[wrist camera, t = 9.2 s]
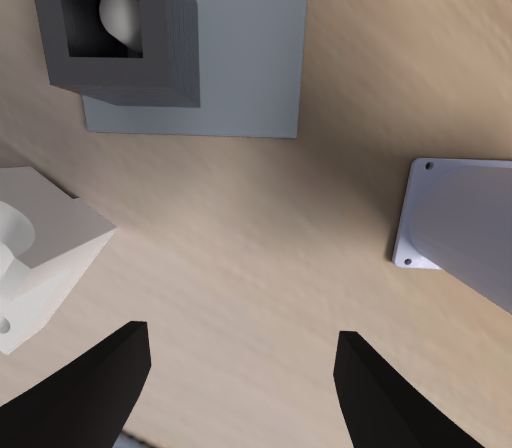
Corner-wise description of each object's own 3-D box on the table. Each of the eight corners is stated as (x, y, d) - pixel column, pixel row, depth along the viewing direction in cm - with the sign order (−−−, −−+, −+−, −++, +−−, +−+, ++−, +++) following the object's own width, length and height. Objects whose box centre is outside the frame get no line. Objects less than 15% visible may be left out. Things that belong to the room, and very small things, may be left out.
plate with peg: (308, -46, 14) (326, -136, 10) (295, 138, 17) (304, 133, 12) (72, -47, 14) (-12, -132, 10) (97, 132, 17) (40, 125, 13)
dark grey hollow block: (197, 3, 14) (160, -75, 9) (200, 107, 16) (170, 87, 11) (104, 2, 14) (21, -75, 9) (116, 105, 16) (50, 84, 11)
